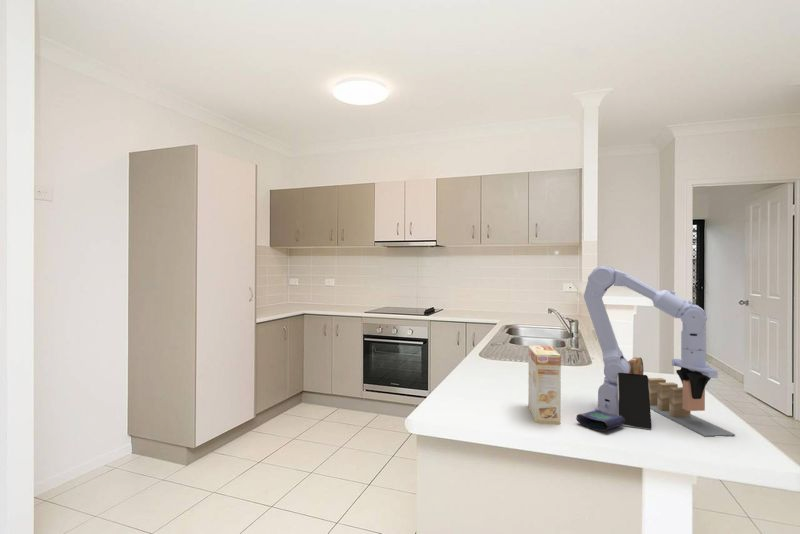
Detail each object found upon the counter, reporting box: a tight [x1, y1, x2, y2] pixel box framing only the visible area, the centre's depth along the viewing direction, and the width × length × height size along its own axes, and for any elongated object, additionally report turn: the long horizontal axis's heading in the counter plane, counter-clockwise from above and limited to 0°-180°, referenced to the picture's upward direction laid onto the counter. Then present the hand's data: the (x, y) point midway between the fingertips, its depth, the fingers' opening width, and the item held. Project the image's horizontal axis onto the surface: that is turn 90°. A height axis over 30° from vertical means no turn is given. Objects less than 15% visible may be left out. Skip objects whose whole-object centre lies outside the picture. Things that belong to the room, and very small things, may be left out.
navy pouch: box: [575, 410, 625, 432], centre depth 119 cm, size 9×3×11 cm
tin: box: [627, 357, 644, 375], centre depth 167 cm, size 15×3×8 cm, turn 139°
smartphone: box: [617, 373, 652, 430], centre depth 121 cm, size 8×1×15 cm
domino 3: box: [669, 386, 692, 417], centre depth 126 cm, size 2×5×8 cm, turn 95°
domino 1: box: [648, 377, 667, 406], centre depth 137 cm, size 2×5×8 cm, turn 94°
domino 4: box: [682, 380, 706, 412], centre depth 121 cm, size 2×5×8 cm, turn 94°
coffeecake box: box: [527, 344, 562, 425], centre depth 128 cm, size 15×7×20 cm, turn 171°
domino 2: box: [657, 381, 679, 411], centre depth 131 cm, size 2×5×8 cm, turn 95°
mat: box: [650, 405, 737, 438], centre depth 129 cm, size 34×8×1 cm, turn 4°
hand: (693, 397), depth 121 cm, fingers closed on domino 4, 2 cm apart
